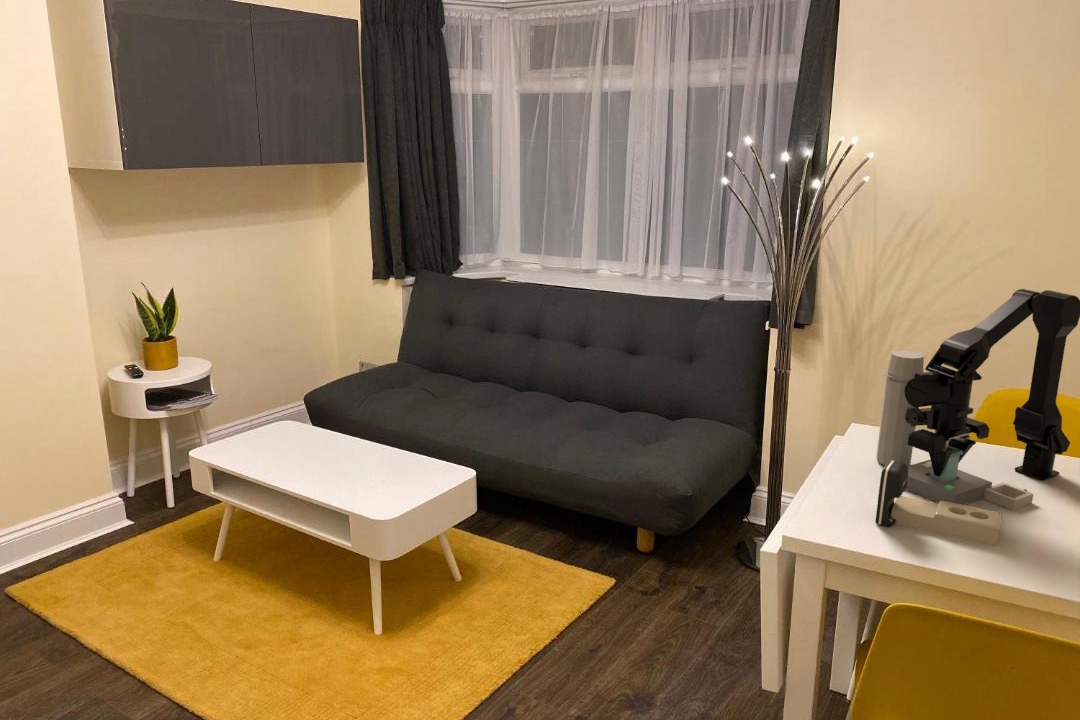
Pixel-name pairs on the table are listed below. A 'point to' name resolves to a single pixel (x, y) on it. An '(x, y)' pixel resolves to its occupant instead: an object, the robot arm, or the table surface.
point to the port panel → (945, 485)
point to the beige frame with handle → (1013, 503)
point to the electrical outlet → (948, 519)
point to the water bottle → (897, 408)
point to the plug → (949, 467)
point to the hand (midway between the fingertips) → (943, 473)
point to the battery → (890, 490)
